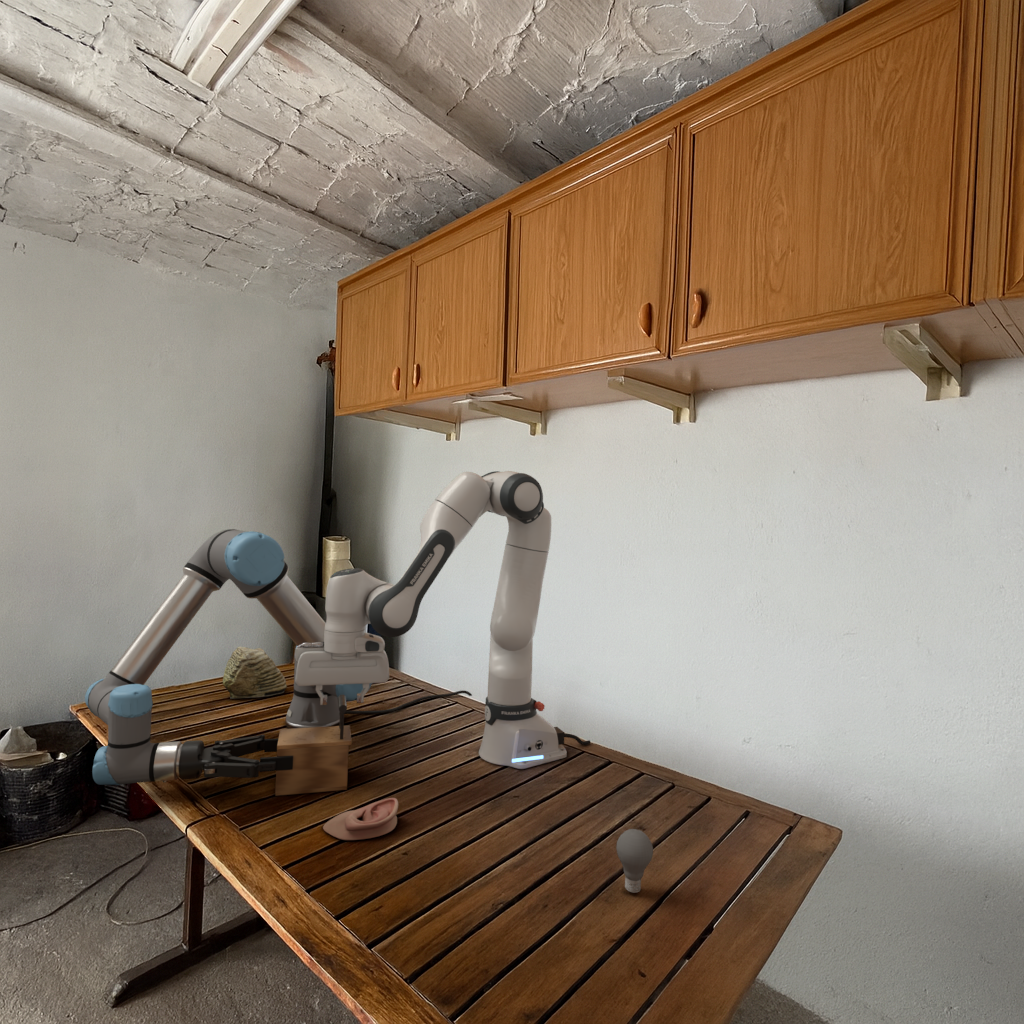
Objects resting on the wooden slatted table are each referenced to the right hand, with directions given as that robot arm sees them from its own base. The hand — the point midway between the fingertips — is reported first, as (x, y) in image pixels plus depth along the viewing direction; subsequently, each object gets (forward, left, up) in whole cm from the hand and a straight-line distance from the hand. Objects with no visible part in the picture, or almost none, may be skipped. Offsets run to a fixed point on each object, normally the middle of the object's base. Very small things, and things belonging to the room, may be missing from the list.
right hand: (341, 703), depth 141 cm
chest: (+6, -1, -17) cm, 18 cm away
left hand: (+10, -1, -10) cm, 14 cm away
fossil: (+14, -69, -17) cm, 72 cm away
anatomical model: (-1, +21, -17) cm, 28 cm away
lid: (+5, -1, -8) cm, 9 cm away
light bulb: (-38, +58, -17) cm, 71 cm away
